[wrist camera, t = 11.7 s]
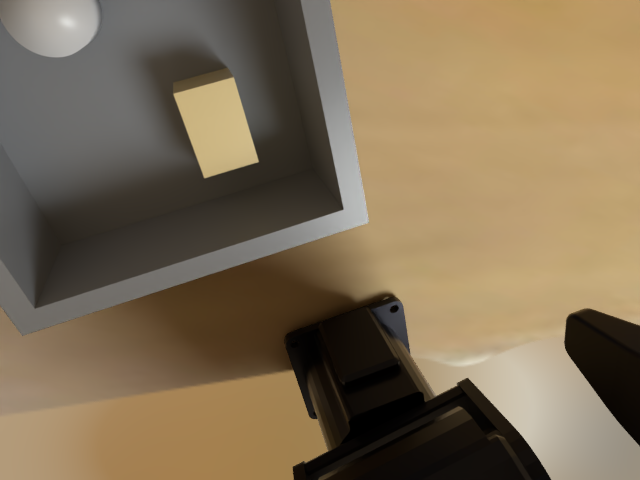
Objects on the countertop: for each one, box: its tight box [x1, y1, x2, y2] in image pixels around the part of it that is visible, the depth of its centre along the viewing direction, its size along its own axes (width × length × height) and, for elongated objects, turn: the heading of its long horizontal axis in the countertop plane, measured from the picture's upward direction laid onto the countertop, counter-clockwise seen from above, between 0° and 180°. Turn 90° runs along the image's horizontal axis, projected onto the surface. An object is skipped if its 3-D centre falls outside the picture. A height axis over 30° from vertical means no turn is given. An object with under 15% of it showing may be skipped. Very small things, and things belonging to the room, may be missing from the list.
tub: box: [0, 0, 369, 336], centre depth 15 cm, size 12×12×5 cm
